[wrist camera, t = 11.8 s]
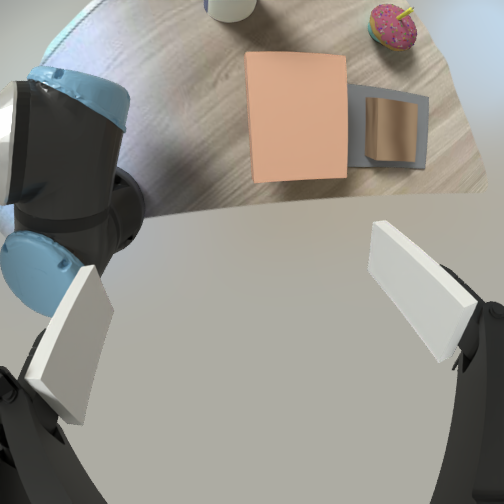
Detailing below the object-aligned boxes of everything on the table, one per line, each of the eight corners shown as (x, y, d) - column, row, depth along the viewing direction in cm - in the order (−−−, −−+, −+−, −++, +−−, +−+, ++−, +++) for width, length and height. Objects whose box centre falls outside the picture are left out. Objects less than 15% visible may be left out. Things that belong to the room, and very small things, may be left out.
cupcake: (348, 22, 33) (387, 5, 22) (378, 2, 31) (418, -14, 20) (381, 61, 36) (425, 56, 26) (408, 39, 34) (452, 33, 24)
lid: (251, 178, 36) (254, 183, 34) (243, 55, 29) (246, 51, 26) (339, 173, 37) (346, 177, 35) (337, 58, 30) (345, 56, 27)
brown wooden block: (364, 155, 44) (376, 160, 40) (365, 97, 39) (377, 97, 35) (402, 156, 44) (414, 161, 41) (404, 102, 40) (417, 104, 36)
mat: (341, 166, 45) (342, 166, 44) (341, 83, 38) (343, 83, 38) (423, 167, 46) (424, 168, 46) (426, 97, 40) (428, 97, 39)
